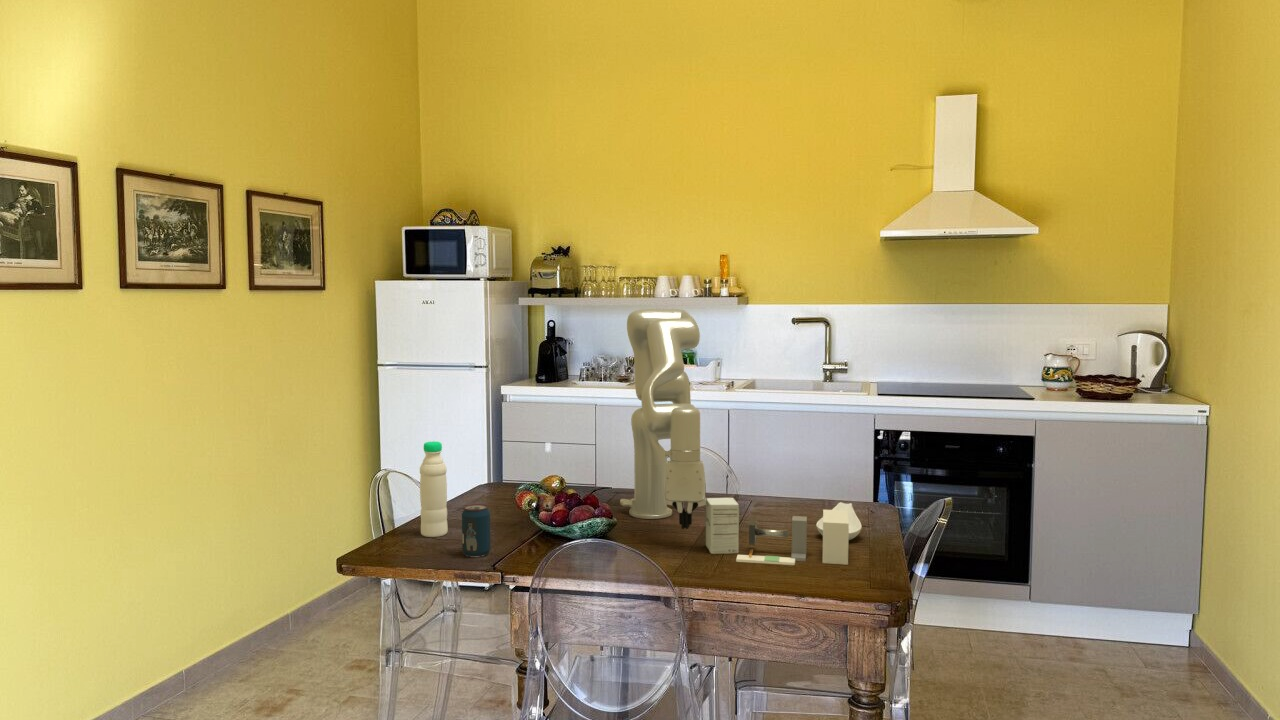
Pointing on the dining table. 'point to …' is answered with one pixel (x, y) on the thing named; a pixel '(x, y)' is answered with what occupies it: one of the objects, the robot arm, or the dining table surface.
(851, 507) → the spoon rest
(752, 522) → the plunger
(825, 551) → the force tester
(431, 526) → the cream plastic bottle
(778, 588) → the dining table surface
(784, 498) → the dining table surface
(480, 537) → the soda can
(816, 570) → the dining table surface
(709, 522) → the supplement box
